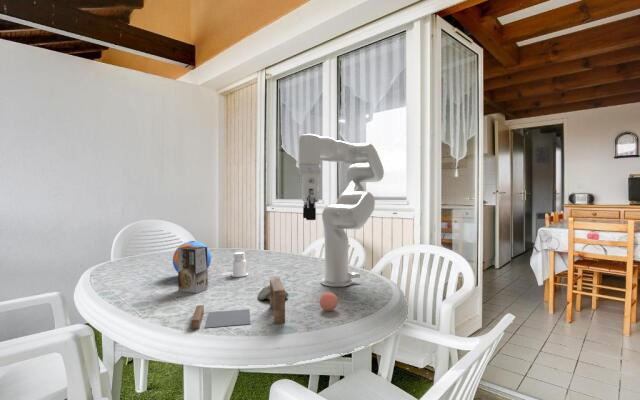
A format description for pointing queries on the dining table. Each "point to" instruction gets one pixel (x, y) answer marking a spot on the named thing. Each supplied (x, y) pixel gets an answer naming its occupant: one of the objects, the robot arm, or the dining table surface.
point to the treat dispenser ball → (190, 243)
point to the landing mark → (228, 318)
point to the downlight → (239, 265)
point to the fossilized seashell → (267, 293)
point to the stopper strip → (197, 317)
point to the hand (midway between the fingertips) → (309, 219)
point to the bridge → (277, 300)
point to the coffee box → (192, 269)
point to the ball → (328, 301)
